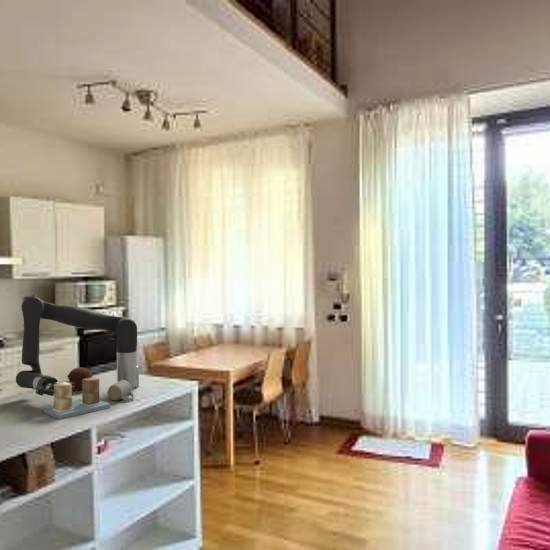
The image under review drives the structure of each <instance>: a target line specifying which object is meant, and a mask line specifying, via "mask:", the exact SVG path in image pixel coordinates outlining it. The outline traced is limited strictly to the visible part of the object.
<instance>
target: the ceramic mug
mask: <svg viewBox="0 0 550 550" xmlns="http://www.w3.org/2000/svg"><path fill="white" fill-rule="evenodd" d="M132 390H133V388H132V387H131V385H130V383H129V382H128V381H126V380H121V381H119V382H117V381H116V383H113V384H111V385H110V386H109V387H108V390H107V394H108V397H109V399H110V400H111V401H114V402H115V401H120V400H123V401H126V402H131V401H133V400H134V398H135V395H134V393H133V391H132ZM129 396H130V397H129ZM130 400H131V401H130Z"/></svg>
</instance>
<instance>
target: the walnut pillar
mask: <svg viewBox="0 0 550 550" xmlns="http://www.w3.org/2000/svg"><path fill="white" fill-rule="evenodd" d="M81 392H82V393H81V394H82V398H81V400H82V403H84V404H86V405H91V404H96V403H100V402H99V400H100V379H99V378H97V377H94V376H92V377H91V378H86V379H82V391H81Z"/></svg>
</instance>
